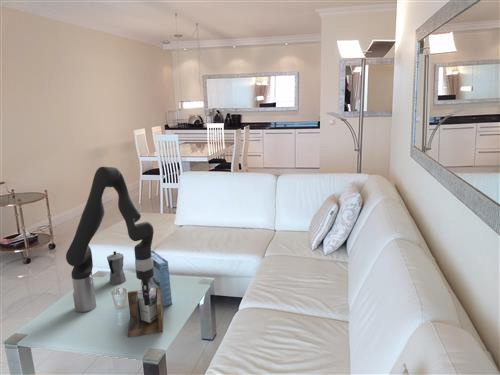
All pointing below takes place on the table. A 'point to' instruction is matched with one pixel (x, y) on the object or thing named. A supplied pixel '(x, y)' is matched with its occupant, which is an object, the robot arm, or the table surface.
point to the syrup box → (148, 306)
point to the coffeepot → (116, 268)
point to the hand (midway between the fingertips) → (147, 300)
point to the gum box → (161, 278)
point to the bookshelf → (135, 322)
